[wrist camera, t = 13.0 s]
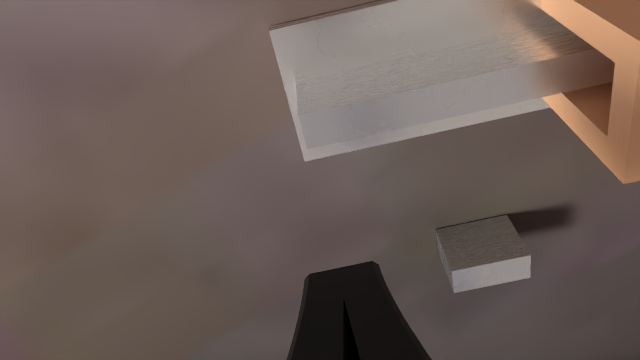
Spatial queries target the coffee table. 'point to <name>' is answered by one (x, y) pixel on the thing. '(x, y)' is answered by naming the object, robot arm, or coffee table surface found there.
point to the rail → (424, 68)
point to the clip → (610, 98)
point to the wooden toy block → (483, 253)
